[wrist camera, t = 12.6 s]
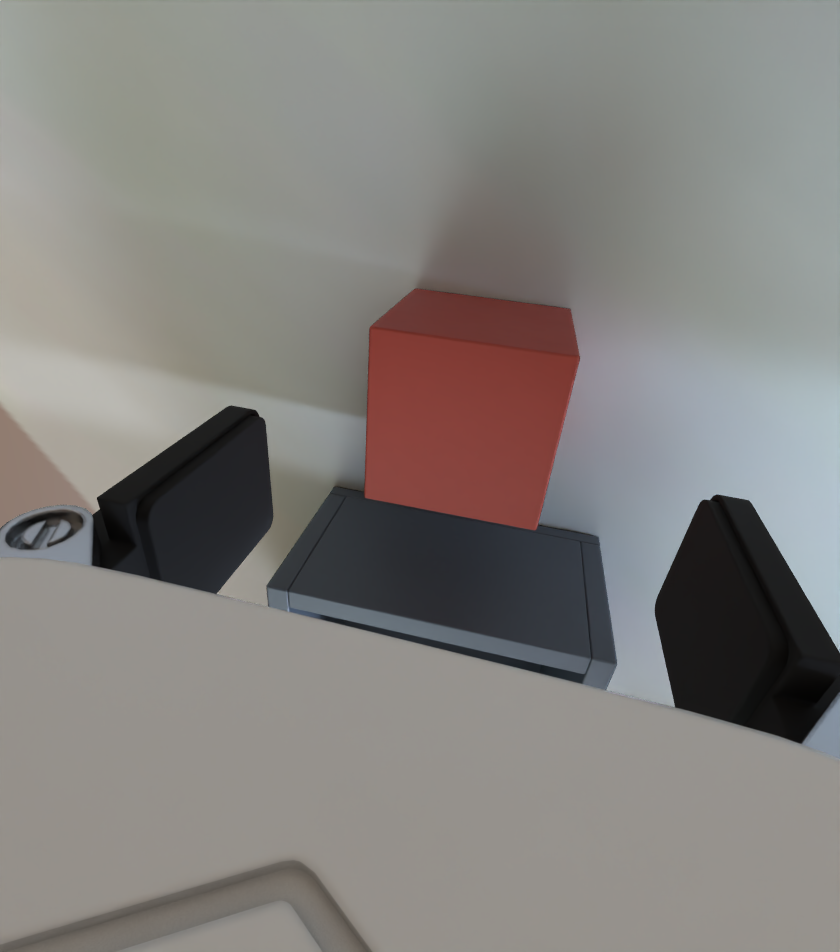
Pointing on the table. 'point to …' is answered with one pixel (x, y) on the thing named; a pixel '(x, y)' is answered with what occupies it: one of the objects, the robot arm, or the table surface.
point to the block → (467, 404)
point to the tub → (454, 585)
